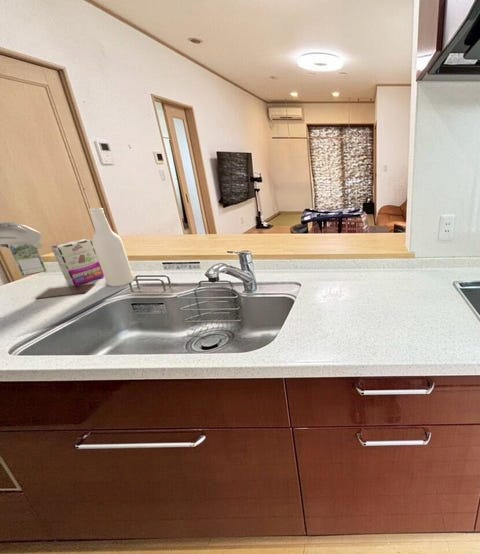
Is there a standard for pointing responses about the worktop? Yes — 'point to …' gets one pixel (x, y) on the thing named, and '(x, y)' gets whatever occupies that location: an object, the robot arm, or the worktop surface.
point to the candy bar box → (78, 261)
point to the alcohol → (110, 251)
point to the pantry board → (66, 291)
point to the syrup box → (27, 259)
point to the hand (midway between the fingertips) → (25, 246)
